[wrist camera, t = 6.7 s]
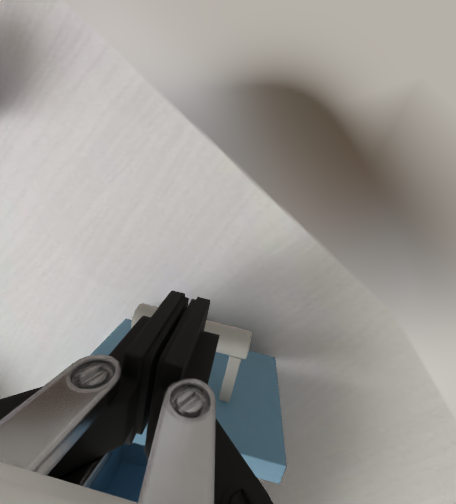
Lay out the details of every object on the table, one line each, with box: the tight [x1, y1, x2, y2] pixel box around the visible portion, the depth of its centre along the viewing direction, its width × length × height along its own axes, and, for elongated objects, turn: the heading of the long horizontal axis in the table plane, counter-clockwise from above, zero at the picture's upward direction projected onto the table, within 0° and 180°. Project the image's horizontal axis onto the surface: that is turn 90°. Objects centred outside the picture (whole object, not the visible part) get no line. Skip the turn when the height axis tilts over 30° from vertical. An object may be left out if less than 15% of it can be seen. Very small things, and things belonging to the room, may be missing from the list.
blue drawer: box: [90, 304, 287, 503], centre depth 16 cm, size 18×11×7 cm, turn 168°
